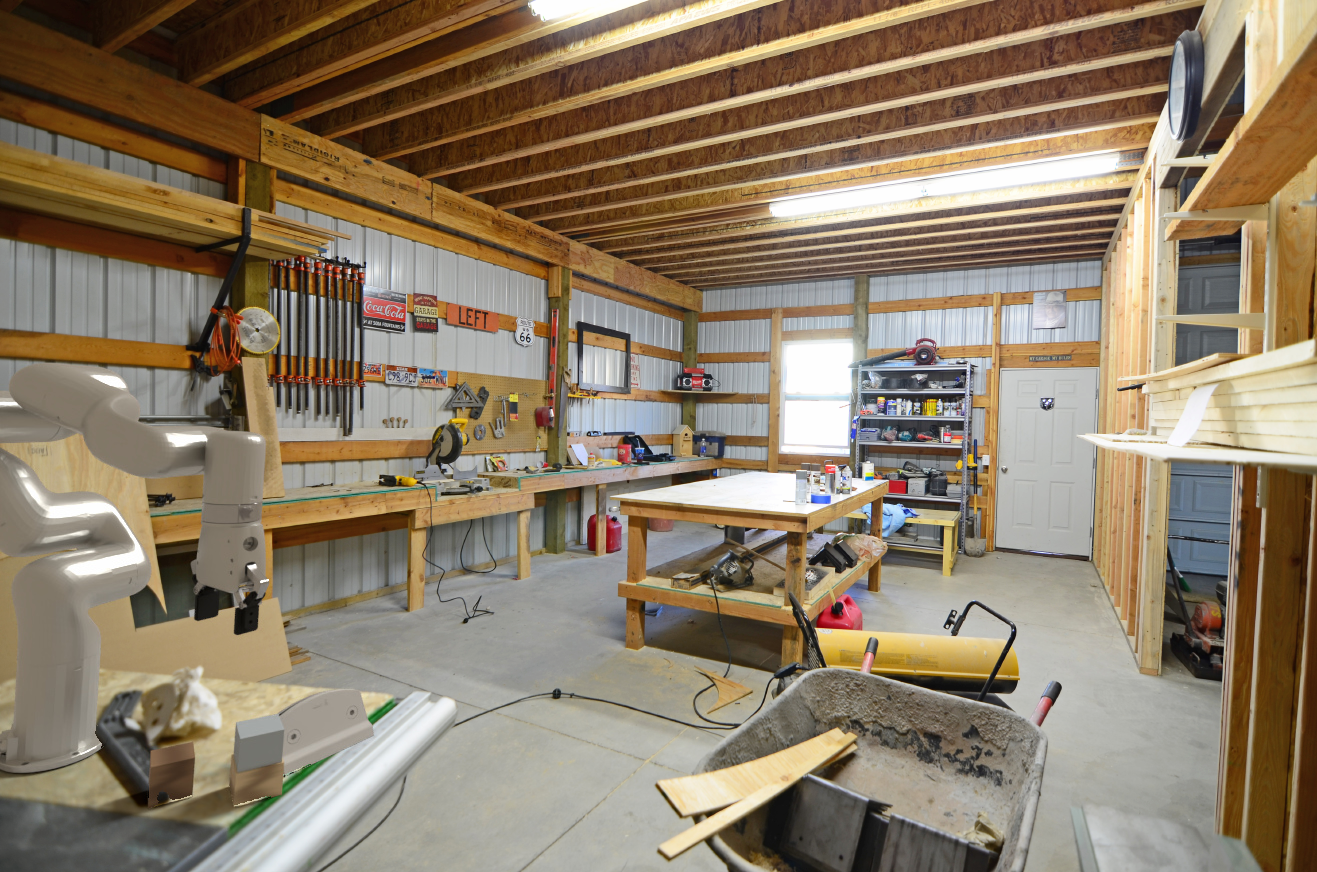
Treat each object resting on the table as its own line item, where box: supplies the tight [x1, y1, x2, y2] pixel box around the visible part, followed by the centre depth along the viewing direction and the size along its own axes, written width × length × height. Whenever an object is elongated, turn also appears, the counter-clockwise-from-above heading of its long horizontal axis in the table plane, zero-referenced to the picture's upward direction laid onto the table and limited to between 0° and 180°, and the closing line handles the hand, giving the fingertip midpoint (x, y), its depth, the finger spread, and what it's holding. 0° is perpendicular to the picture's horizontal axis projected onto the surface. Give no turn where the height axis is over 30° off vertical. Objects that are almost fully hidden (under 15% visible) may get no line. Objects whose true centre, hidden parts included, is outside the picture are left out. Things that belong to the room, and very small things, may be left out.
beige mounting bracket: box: [276, 688, 375, 775], centre depth 106 cm, size 17×5×10 cm, turn 152°
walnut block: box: [147, 741, 196, 810], centre depth 91 cm, size 5×5×6 cm
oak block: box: [228, 753, 284, 805], centre depth 93 cm, size 6×6×5 cm
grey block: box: [233, 713, 284, 773], centre depth 93 cm, size 6×6×5 cm
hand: (225, 625), depth 94 cm, fingers open, 9 cm apart
